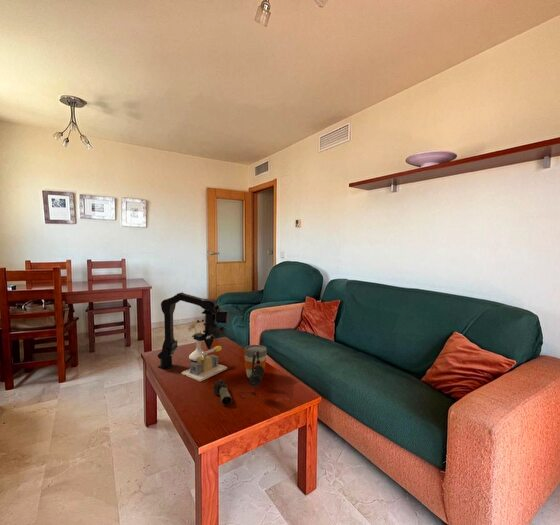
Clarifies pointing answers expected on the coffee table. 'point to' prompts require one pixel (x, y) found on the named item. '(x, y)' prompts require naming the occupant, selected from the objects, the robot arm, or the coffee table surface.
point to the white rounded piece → (198, 350)
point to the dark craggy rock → (222, 392)
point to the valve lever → (211, 351)
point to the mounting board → (205, 373)
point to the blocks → (203, 364)
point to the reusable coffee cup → (249, 357)
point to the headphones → (255, 372)
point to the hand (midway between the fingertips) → (208, 348)
